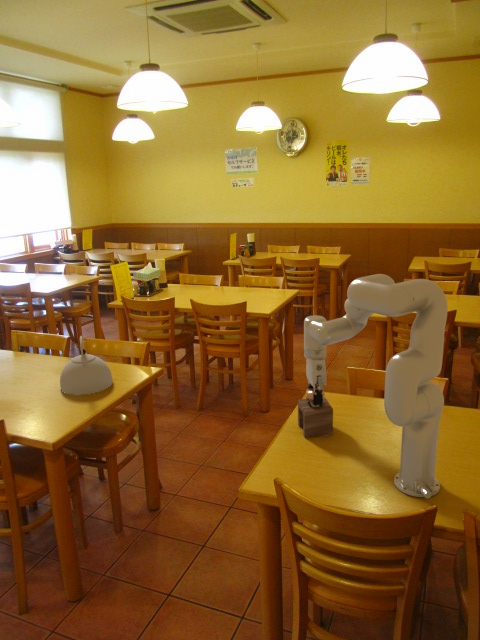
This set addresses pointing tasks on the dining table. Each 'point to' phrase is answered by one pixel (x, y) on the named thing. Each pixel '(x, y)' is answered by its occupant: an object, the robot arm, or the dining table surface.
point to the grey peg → (310, 396)
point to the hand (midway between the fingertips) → (315, 399)
